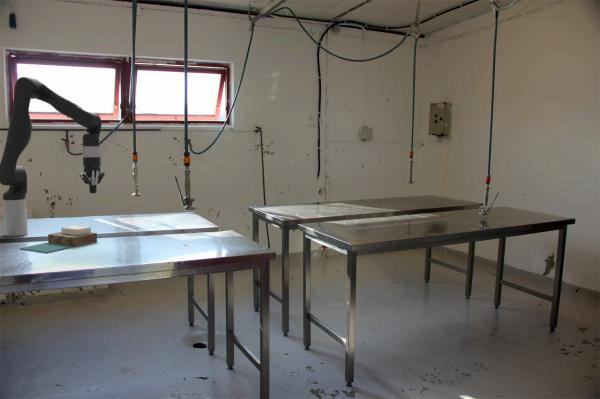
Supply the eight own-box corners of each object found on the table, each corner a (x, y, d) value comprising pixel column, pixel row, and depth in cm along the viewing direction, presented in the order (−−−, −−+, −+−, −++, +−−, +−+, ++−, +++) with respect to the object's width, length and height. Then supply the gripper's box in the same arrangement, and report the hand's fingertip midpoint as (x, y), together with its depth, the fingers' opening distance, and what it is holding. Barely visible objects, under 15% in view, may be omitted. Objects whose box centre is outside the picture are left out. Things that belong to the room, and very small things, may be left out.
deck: (48, 243, 203) (47, 234, 203) (71, 238, 214) (71, 230, 213) (74, 246, 197) (74, 237, 196) (97, 241, 208) (96, 233, 207)
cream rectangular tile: (61, 233, 205) (61, 227, 205) (74, 230, 212) (74, 225, 212) (77, 235, 202) (77, 229, 201) (90, 232, 208) (90, 227, 208)
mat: (20, 249, 191) (20, 248, 191) (46, 243, 202) (46, 242, 202) (47, 253, 185) (47, 252, 185) (72, 247, 196) (72, 246, 196)
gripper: (97, 155, 221) (98, 191, 223) (73, 156, 209) (75, 194, 211) (108, 156, 218) (110, 192, 220) (85, 156, 206) (87, 195, 208)
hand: (93, 193), depth 215 cm, fingers closed
